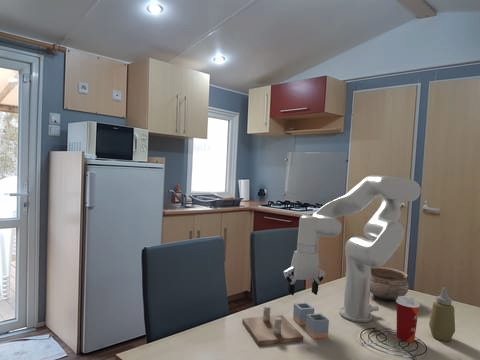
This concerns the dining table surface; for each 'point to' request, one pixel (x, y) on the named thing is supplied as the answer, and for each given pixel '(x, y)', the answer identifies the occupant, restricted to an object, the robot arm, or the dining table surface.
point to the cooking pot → (388, 283)
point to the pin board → (271, 329)
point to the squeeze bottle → (442, 317)
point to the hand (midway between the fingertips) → (302, 293)
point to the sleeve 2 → (317, 325)
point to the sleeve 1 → (302, 312)
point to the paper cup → (407, 318)
